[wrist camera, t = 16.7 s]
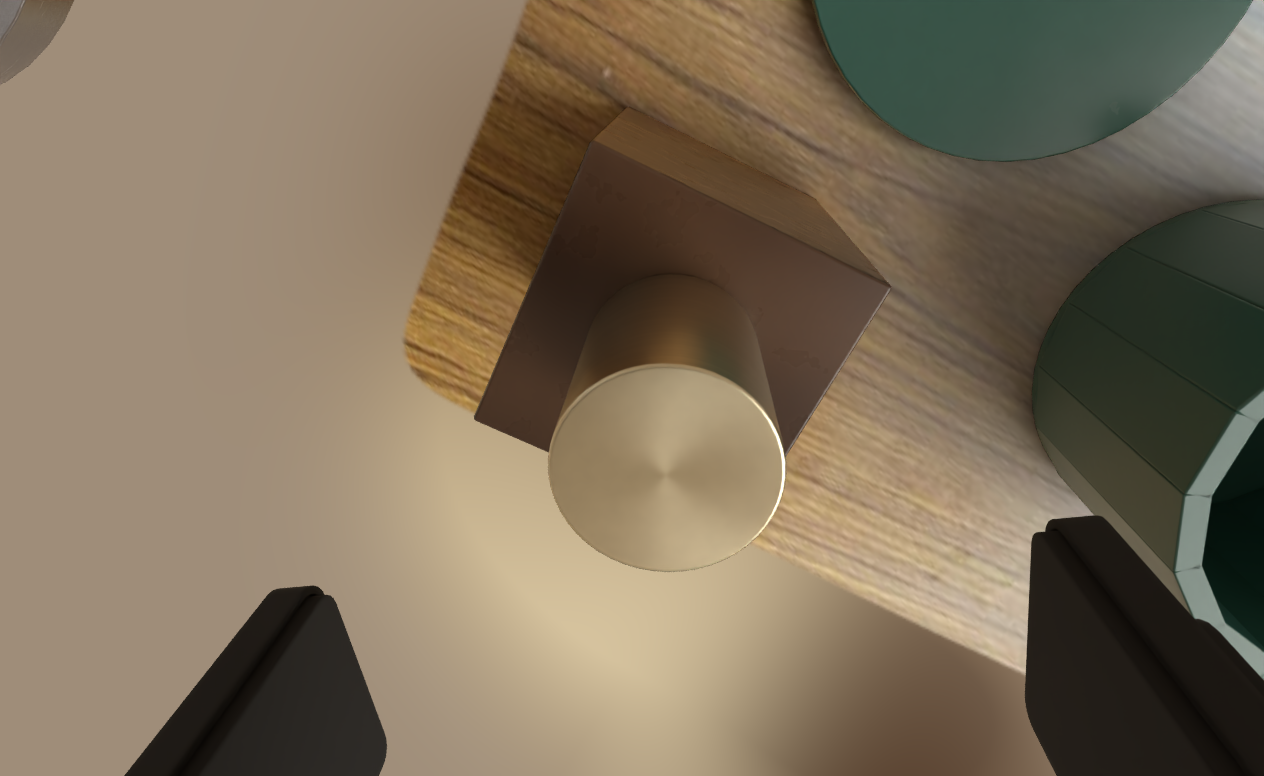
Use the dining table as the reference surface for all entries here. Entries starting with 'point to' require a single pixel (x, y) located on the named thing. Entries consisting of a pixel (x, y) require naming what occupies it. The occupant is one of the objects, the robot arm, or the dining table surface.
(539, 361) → the block
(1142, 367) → the pot
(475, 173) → the dining table surface
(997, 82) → the lid
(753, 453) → the tin
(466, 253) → the dining table surface
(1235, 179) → the dining table surface
